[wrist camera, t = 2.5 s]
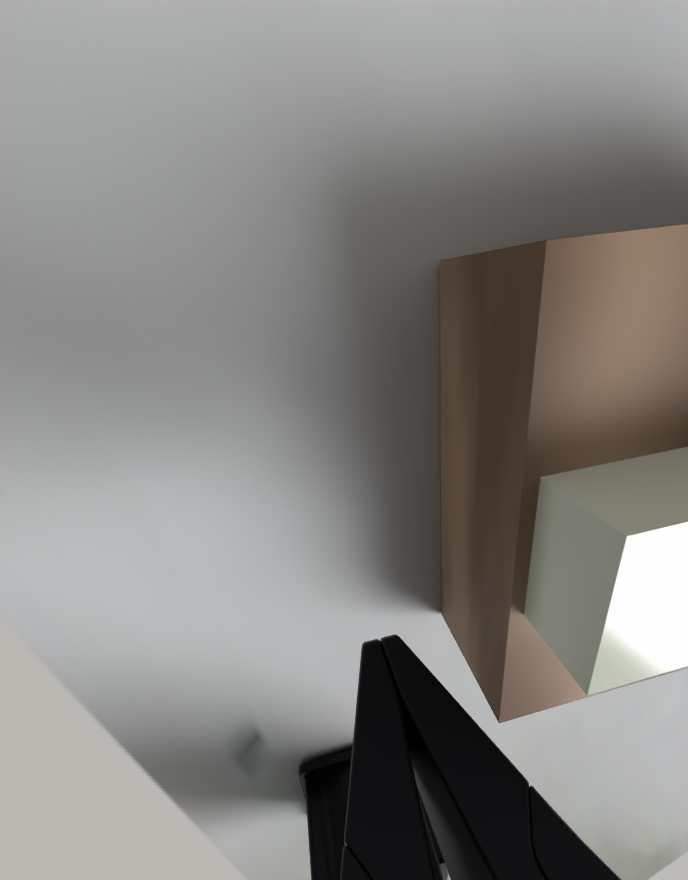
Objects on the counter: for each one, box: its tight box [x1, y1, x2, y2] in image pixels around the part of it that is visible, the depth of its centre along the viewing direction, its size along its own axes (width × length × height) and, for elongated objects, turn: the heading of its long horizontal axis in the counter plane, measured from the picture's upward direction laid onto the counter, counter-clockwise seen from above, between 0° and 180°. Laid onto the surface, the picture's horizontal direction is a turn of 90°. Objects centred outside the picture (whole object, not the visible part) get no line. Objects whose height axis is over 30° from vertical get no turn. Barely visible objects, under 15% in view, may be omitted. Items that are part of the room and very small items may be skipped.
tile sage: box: [524, 447, 688, 696], centre depth 9 cm, size 5×5×2 cm
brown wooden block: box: [440, 224, 688, 723], centre depth 13 cm, size 12×16×5 cm
